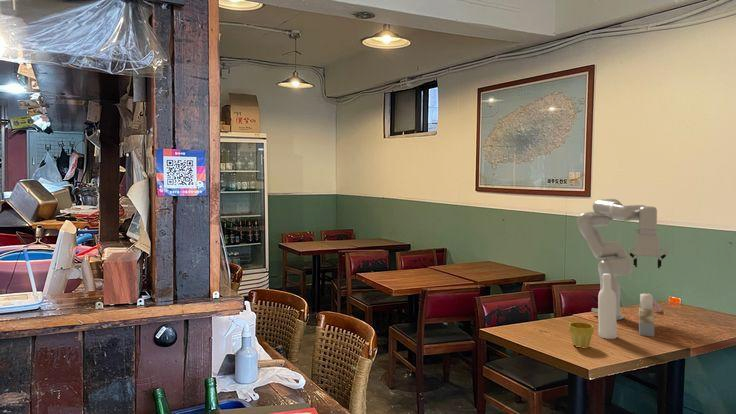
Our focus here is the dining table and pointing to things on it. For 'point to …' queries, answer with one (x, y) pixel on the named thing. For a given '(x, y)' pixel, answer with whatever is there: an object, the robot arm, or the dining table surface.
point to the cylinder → (646, 302)
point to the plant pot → (581, 333)
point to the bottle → (607, 310)
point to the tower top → (646, 316)
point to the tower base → (646, 329)
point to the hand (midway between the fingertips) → (647, 267)
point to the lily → (656, 305)
